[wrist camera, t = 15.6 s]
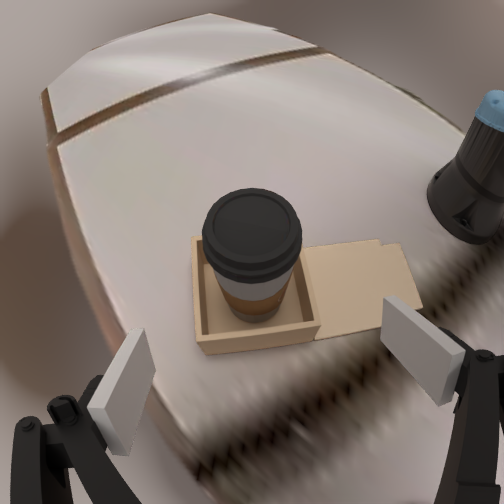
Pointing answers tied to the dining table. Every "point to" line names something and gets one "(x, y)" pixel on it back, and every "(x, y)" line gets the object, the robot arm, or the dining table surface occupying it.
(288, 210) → the coffee cup
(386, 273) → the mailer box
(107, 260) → the dining table surface
